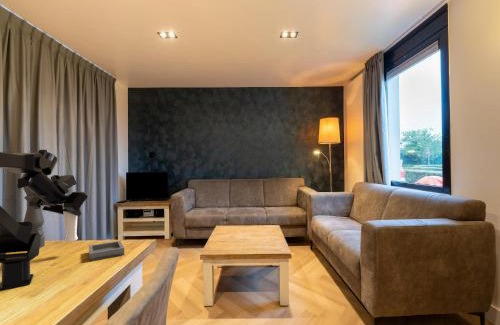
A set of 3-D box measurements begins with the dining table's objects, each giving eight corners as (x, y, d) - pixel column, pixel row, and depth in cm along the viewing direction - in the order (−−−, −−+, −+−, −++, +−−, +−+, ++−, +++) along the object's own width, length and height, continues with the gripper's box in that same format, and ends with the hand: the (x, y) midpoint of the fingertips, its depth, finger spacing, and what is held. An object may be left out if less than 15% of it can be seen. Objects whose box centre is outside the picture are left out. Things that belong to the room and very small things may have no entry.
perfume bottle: (65, 238, 94) (64, 195, 94) (79, 237, 96) (78, 195, 96) (61, 242, 90) (60, 197, 90) (76, 240, 92) (75, 196, 91)
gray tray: (124, 255, 92) (124, 247, 92) (90, 261, 86) (90, 253, 86) (120, 247, 100) (120, 240, 100) (88, 252, 95) (88, 245, 95)
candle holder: (41, 248, 100) (40, 180, 100) (20, 250, 98) (19, 181, 97) (46, 243, 106) (45, 179, 105) (27, 245, 103) (26, 180, 103)
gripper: (82, 167, 86) (109, 197, 97) (38, 167, 91) (68, 195, 102) (59, 194, 79) (91, 223, 90) (12, 193, 84) (48, 221, 94)
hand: (74, 214), depth 94 cm, fingers closed on perfume bottle, 4 cm apart
